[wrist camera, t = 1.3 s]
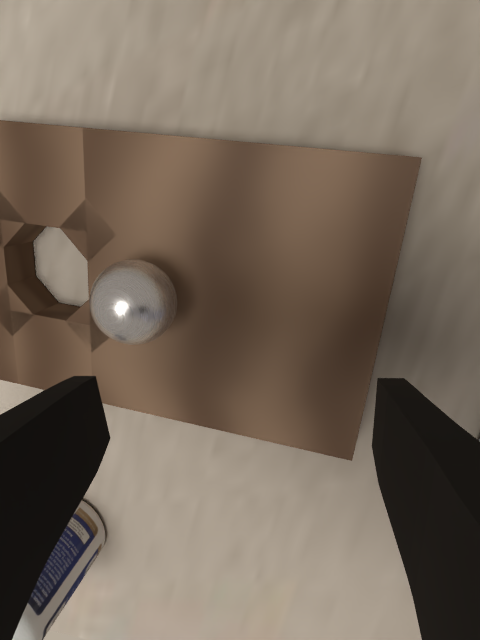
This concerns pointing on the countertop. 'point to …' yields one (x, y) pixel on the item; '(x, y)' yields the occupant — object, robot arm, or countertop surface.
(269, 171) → the walnut board
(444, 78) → the countertop surface
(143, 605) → the countertop surface
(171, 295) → the steel ball
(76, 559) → the pill bottle
